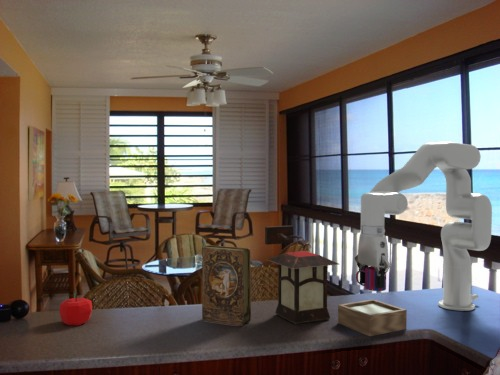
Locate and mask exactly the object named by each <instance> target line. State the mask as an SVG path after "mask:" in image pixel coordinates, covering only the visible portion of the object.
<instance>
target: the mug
mask: <svg viewBox="0 0 500 375" xmlns="http://www.w3.org/2000/svg"><path fill="white" fill-rule="evenodd" d="M379 270H381V269H380V268H379ZM360 272H364V273H365V284H361V283H360V280H359V275H360ZM376 276H377V273H376V270H375V267H372V266H368V267H365V271H364V270H359V269H358V270H357V272H356V274H355V280H356V282H357V283H358V285H360V286H361V287H364V289H366V290H367V291H370V292H371V291H372V292H384V291H386V290H387V274H386V275H384V288H376V287H375V277H376Z"/></svg>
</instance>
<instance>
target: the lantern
mask: <svg viewBox="0 0 500 375" xmlns="http://www.w3.org/2000/svg"><path fill="white" fill-rule="evenodd" d="M294 239H297V240H296V242H295V246H294V250H293V251H291V252H284V253H282V254H278V255H277V256H273V257H270V258H267V259H266V261H268V262H271V263H275V264H276V265H278V266H277V267H278V268H277V270H278V271H277V272H278V278H277V279H278V280H277V281H278V282H277V285H278V289H277V291H278V295H277V296H278V302H277V303H278V304H277V307H276V310H275V312H274V314H276V315H277V316H279V317H280V318H282V319H284V320H286V321H288V322H289V323H290V322H291V323H292V324H293V325H303V324H307V323H308V324H309V323H315V322H316V323H317V322H323V321H329V320H330V319H331V316H330V313H329V310H328V266H337V265H340V263H338V262H336V261H334V260H332V259H330V258H326V257H325V256H322V255H320V254H318V253H312V252H310V251H309V249H308V246H307V243H306V241H305V239H304V238H303V237H302V236H299V235H294V225H277V226H276V225H274V226H264V245H268V246H269V245H282V244H294ZM299 239H302V241H304V244H305V248H306V249H307V250H306V251H305V250H300V251H296V246H297V243H298V240H299Z"/></svg>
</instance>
